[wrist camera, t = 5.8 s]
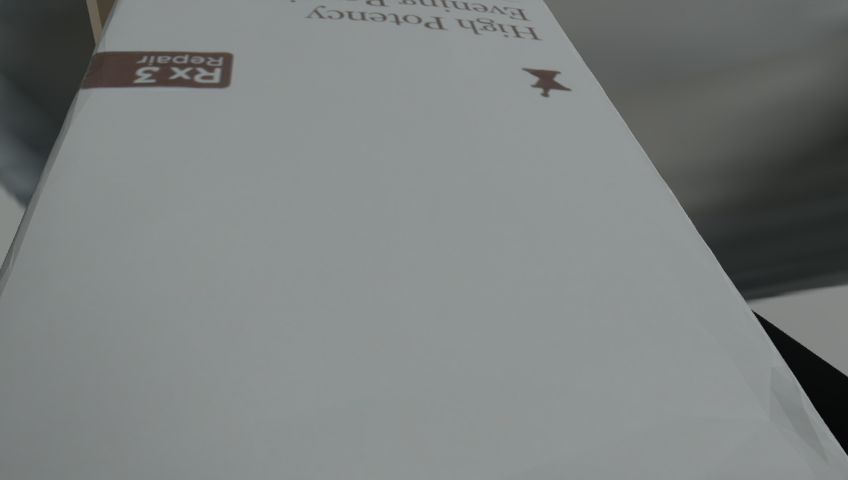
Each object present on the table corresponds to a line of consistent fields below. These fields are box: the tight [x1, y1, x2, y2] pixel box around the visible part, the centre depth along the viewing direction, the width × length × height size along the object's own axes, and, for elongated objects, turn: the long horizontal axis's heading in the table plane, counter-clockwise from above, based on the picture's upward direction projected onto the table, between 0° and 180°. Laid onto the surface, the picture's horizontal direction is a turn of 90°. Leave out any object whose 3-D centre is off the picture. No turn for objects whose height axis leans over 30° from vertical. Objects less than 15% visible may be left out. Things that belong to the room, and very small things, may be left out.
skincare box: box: [0, 0, 848, 480], centre depth 9 cm, size 6×4×12 cm
